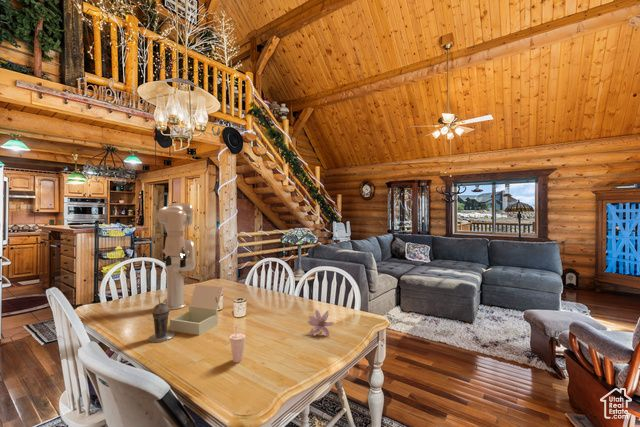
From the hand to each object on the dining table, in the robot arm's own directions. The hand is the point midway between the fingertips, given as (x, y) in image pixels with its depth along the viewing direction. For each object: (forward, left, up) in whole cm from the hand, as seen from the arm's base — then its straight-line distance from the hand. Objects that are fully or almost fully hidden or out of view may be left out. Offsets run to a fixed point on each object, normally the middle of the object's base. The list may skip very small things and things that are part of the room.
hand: (175, 266), depth 158 cm
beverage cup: (+5, -15, -31) cm, 34 cm away
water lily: (+76, +13, -31) cm, 83 cm away
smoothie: (+53, -22, -31) cm, 65 cm away
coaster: (+6, -15, -31) cm, 35 cm away
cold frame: (+12, +3, -31) cm, 33 cm away
